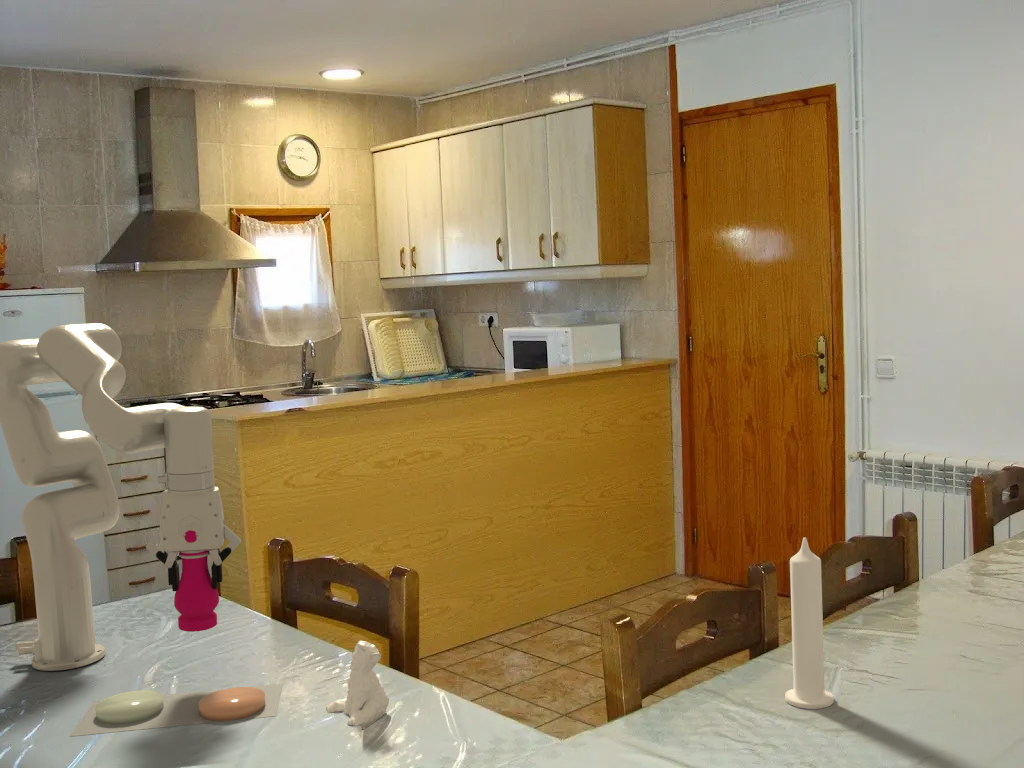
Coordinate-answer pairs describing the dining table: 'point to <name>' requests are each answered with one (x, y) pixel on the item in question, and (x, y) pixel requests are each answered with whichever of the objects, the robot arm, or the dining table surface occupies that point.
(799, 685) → the candle
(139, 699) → the pale green domed disc
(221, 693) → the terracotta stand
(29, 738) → the dining table surface
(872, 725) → the dining table surface
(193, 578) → the pepper mill
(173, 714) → the board
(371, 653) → the sitting furry creature
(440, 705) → the dining table surface
